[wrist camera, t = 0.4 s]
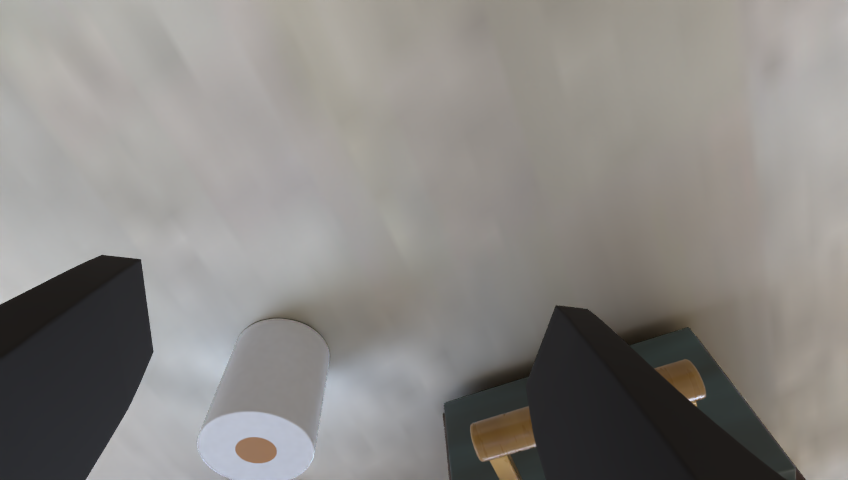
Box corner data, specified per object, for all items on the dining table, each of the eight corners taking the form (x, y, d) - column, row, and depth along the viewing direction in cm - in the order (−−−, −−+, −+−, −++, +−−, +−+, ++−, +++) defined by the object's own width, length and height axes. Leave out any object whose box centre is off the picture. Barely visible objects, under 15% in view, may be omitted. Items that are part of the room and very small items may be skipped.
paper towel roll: (323, 392, 24) (307, 490, 20) (233, 380, 23) (195, 479, 19) (336, 325, 22) (321, 419, 18) (237, 310, 21) (196, 404, 17)
